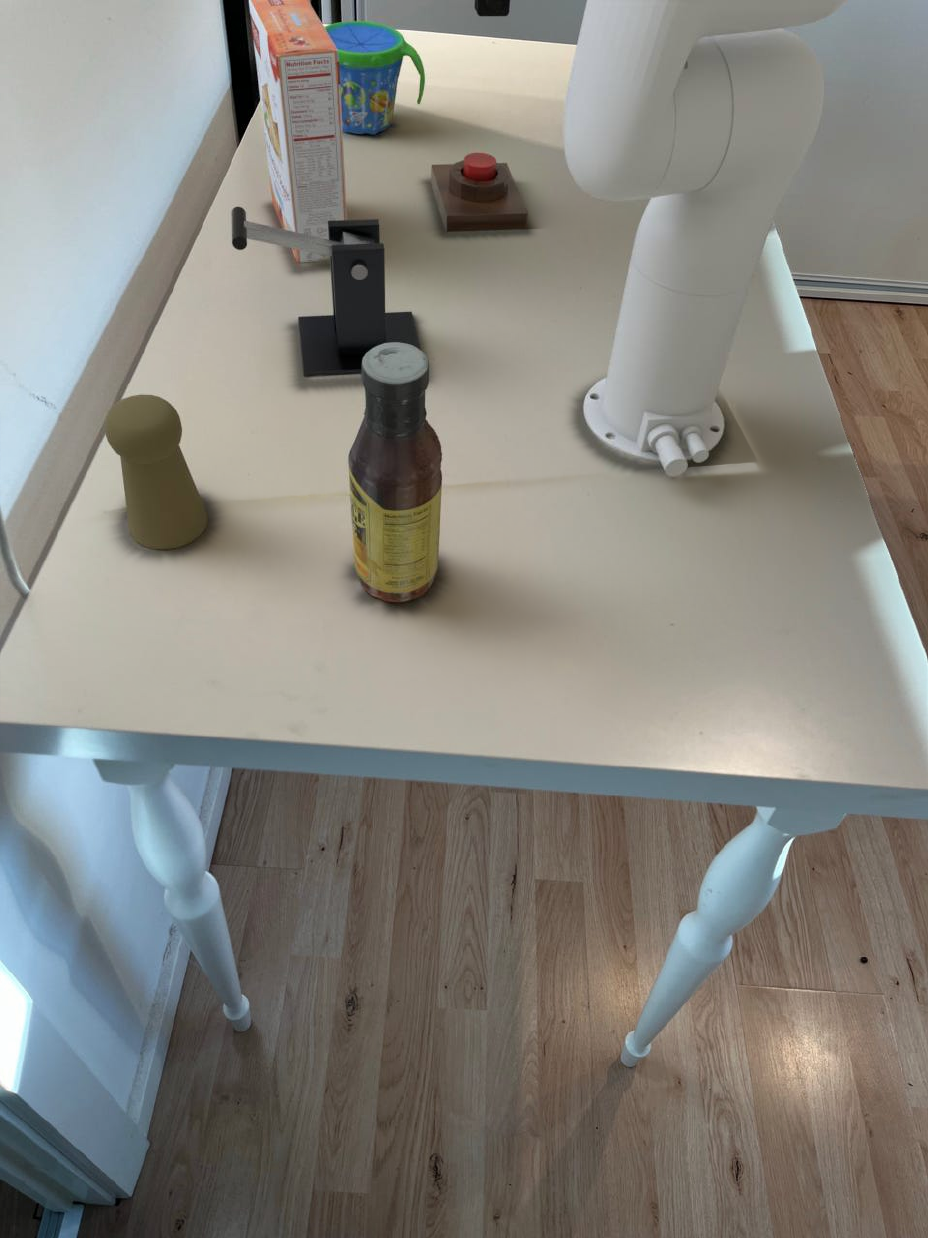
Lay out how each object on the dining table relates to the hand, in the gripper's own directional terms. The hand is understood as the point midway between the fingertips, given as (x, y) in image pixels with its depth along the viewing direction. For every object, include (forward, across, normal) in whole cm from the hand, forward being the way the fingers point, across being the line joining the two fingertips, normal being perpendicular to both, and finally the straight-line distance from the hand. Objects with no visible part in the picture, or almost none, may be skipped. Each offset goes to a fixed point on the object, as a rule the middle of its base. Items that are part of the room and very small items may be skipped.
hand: (491, 12), depth 93 cm
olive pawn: (+21, -47, +33) cm, 61 cm away
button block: (+20, +1, 0) cm, 20 cm away
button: (+16, +1, 0) cm, 16 cm away
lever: (+10, -26, +21) cm, 35 cm away
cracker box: (+20, -4, +20) cm, 28 cm away
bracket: (+20, -26, +16) cm, 37 cm away
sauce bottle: (+21, -55, +16) cm, 61 cm away
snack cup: (+20, +23, +11) cm, 32 cm away
